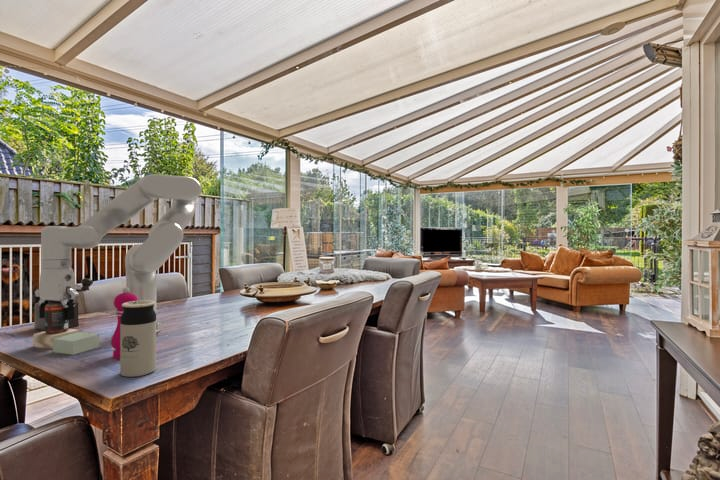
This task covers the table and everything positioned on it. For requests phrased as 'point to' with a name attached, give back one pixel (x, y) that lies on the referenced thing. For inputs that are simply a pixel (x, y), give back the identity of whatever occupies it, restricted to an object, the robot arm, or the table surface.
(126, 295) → the pepper mill
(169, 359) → the table surface
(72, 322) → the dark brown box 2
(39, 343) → the maple block
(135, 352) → the travel mug
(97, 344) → the green block
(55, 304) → the supplement bottle
